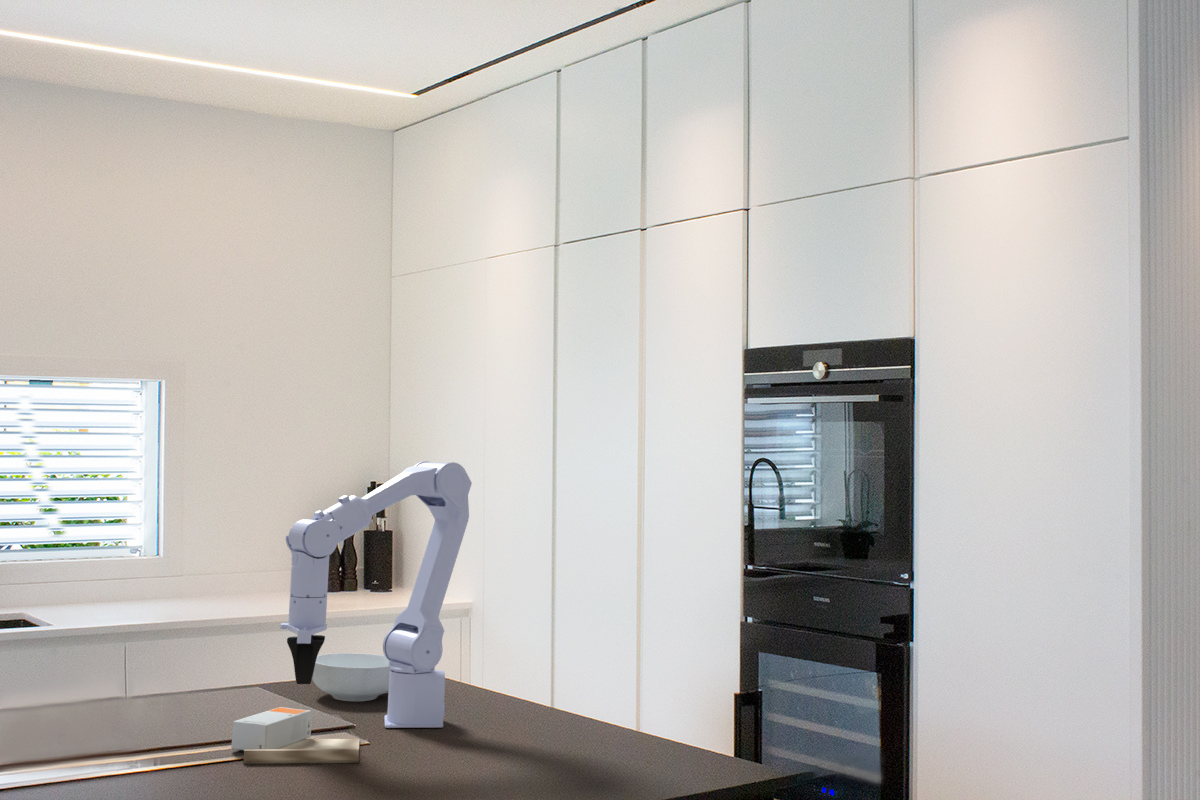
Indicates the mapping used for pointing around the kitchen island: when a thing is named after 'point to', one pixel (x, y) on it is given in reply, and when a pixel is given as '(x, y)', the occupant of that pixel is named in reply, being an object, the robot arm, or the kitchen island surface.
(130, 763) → the kitchen island surface
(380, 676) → the cereal bowl
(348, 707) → the kitchen island surface
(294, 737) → the skincare box
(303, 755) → the gold metal board
